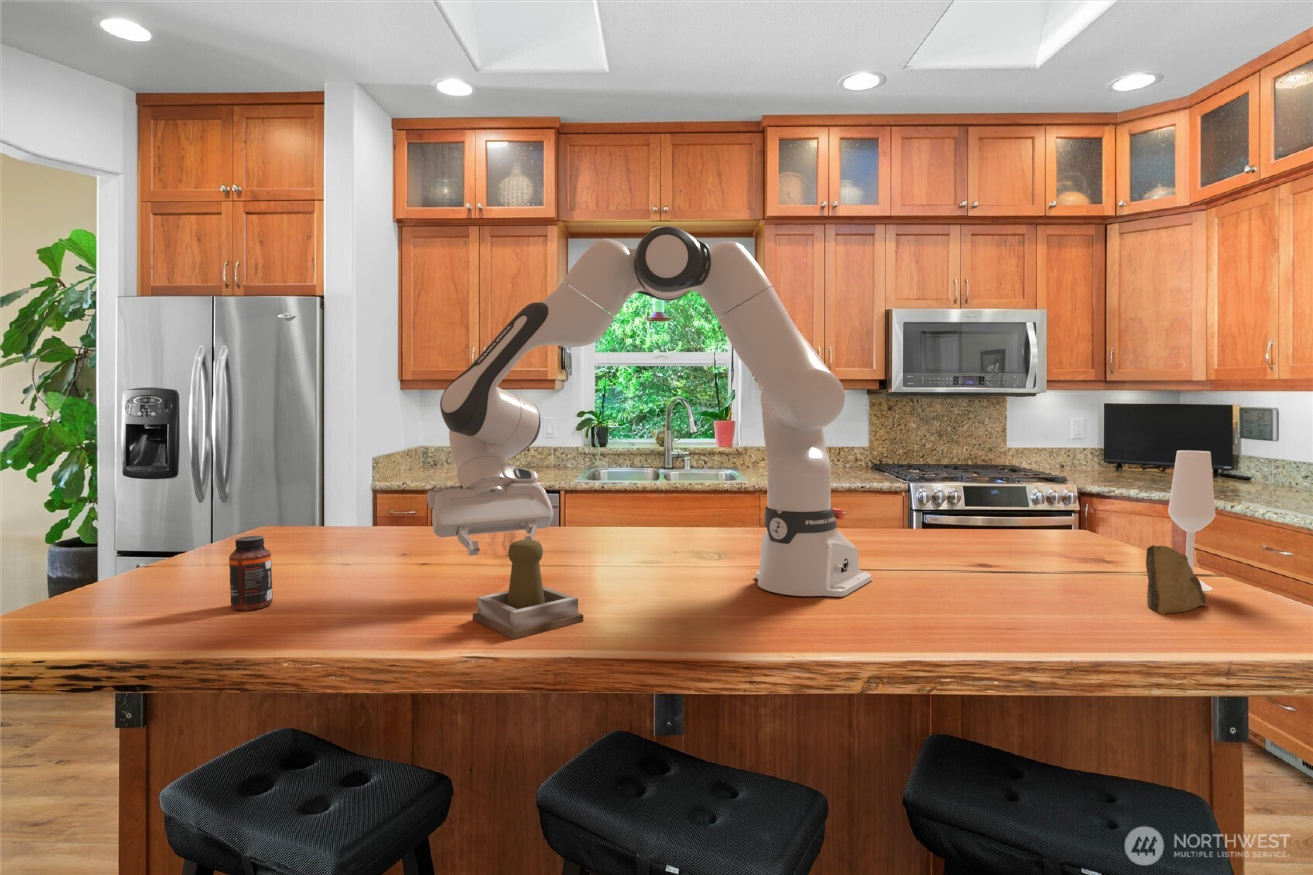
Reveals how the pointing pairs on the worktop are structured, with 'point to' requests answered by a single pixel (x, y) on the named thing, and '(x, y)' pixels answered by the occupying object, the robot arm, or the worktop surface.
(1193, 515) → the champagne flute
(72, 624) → the worktop surface
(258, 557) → the supplement bottle
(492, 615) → the socket mount
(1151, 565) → the rock
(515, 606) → the cork
